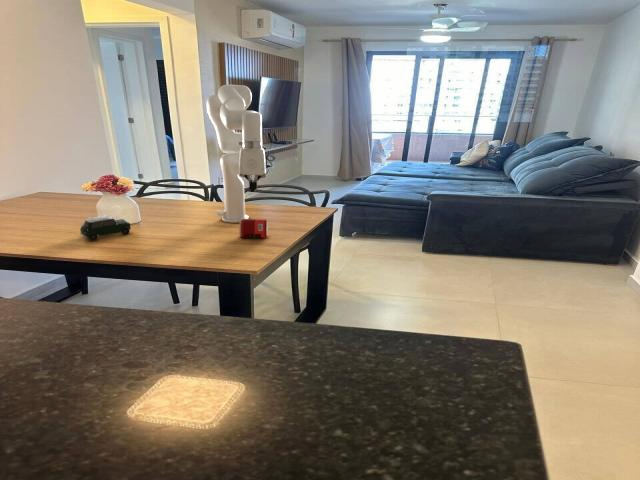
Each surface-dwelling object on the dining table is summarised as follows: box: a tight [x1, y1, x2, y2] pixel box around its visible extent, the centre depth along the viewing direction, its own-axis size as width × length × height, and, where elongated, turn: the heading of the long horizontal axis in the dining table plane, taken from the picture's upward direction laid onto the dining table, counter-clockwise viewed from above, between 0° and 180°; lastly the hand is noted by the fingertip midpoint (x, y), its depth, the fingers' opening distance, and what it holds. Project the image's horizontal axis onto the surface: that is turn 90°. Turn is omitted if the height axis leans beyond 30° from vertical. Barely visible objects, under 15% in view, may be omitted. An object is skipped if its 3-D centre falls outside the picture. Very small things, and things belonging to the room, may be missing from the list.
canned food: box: [238, 218, 269, 239], centre depth 159 cm, size 8×8×11 cm
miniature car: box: [79, 214, 132, 242], centre depth 156 cm, size 9×18×8 cm, turn 134°
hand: (253, 191), depth 155 cm, fingers closed
